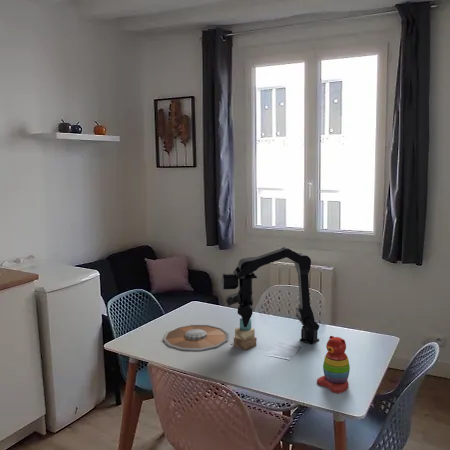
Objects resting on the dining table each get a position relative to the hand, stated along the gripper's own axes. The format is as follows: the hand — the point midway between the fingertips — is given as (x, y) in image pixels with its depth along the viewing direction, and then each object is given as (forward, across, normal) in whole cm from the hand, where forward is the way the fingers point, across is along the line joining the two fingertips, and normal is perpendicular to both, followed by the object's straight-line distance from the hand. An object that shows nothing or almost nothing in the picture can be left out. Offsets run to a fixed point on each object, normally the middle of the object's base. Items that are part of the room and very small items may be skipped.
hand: (245, 323), depth 207 cm
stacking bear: (+10, +33, +33) cm, 48 cm away
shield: (+11, -7, -23) cm, 26 cm away
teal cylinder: (+2, 0, 0) cm, 2 cm away
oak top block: (+6, 0, 0) cm, 7 cm away
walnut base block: (+10, 0, 0) cm, 11 cm away
